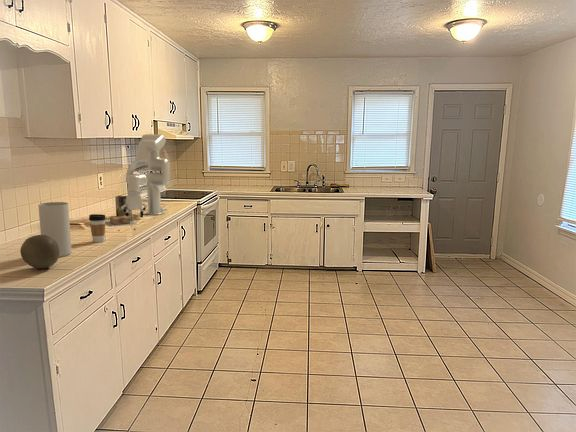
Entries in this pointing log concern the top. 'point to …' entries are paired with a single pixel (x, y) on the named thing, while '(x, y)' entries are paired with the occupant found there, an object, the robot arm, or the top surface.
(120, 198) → the coffee box
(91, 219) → the coffee cup
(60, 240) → the cylinder vase
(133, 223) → the board
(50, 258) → the cantaloupe
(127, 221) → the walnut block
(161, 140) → the robot arm
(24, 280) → the top surface
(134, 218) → the oak cube
